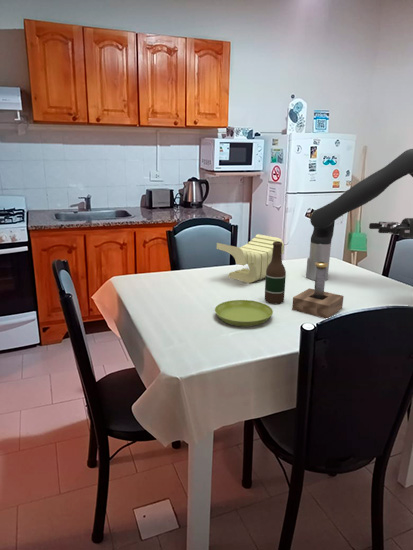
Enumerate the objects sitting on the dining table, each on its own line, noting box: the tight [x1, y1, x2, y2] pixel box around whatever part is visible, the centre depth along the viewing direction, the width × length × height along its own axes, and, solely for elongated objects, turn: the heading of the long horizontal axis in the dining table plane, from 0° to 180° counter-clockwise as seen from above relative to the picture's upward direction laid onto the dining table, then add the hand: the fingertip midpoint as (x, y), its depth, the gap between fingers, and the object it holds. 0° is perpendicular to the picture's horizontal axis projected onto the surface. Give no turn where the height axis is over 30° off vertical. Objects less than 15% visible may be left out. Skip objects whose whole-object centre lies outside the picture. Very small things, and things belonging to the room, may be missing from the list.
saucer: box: [214, 299, 274, 327], centre depth 149 cm, size 21×21×3 cm
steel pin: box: [313, 262, 328, 300], centre depth 155 cm, size 5×5×18 cm
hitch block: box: [291, 288, 344, 320], centre depth 157 cm, size 14×14×5 cm
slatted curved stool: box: [216, 233, 285, 284], centre depth 194 cm, size 30×16×18 cm, turn 136°
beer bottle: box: [264, 242, 287, 305], centre depth 162 cm, size 8×8×24 cm
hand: (374, 227), depth 156 cm, fingers open, 8 cm apart
